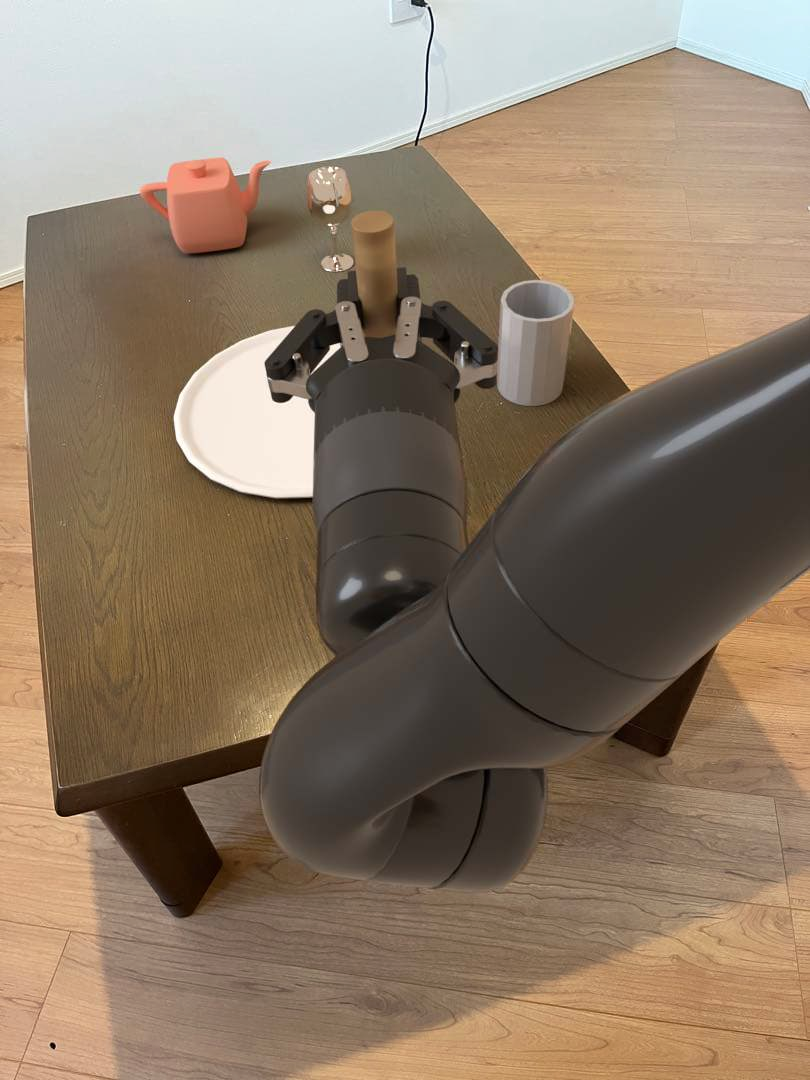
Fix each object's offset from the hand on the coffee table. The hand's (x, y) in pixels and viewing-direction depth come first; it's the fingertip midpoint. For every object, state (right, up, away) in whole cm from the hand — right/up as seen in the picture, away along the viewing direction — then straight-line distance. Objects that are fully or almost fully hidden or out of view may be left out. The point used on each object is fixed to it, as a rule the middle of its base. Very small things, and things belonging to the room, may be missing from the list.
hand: (377, 282), depth 53 cm
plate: (-9, -2, +40) cm, 41 cm away
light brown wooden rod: (+1, -12, +9) cm, 15 cm away
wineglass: (-7, +21, +59) cm, 63 cm away
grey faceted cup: (+16, +1, +41) cm, 44 cm away
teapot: (-25, +27, +65) cm, 74 cm away
